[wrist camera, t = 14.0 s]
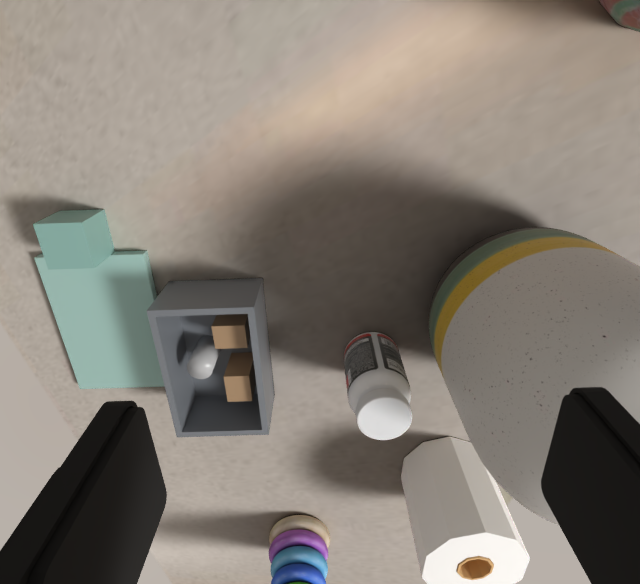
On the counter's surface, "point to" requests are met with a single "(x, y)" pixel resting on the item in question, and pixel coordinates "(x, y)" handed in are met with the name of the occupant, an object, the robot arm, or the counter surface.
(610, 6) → the potted plant
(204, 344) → the tub
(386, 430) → the pill bottle
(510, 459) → the vase
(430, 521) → the toilet paper
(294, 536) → the stacking toy
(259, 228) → the counter surface
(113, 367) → the mint slab with cube
